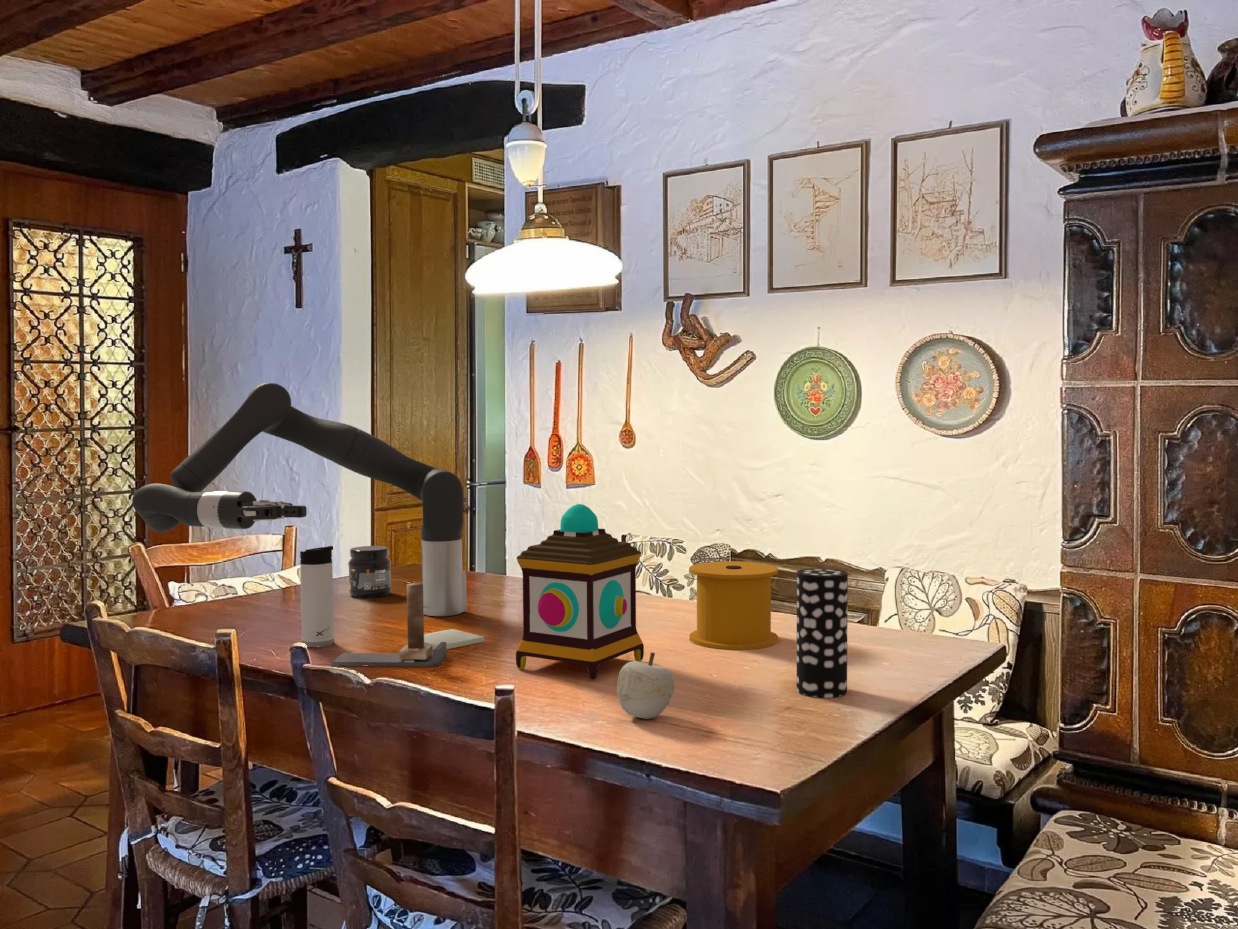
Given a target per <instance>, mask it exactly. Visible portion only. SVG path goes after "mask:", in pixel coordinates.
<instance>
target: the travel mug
mask: <svg viewBox="0 0 1238 929" xmlns="http://www.w3.org/2000/svg"><path fill="white" fill-rule="evenodd" d="M333 550H334V546H333V545H329V546H321V547H315V548H308V549H305V550H304V551H302V550H301V551H299V554H300V555H299V557H300V560H299V561H300V562H299V566H300V567H299V568H300V569H299V572H300V573H299V575H300V576H299V577H300V610H301V611H300V614H301V616H300V618H301V644H302V643H305V644H306V645H307V646H308V647H307V648H310V647H317V646H326V647H329V645H330V646H332V645H334V643H335V626H334V624H335V623H334V620H335V619H334V616H335V615H334V585H333V584H334V582H333V581H334V579H333V571H334V570H333V559H332V558H333V553H332V552H333ZM331 644H332V645H331Z"/></svg>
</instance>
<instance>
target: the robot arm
mask: <svg viewBox="0 0 1238 929" xmlns="http://www.w3.org/2000/svg"><path fill="white" fill-rule="evenodd" d="M261 433H265V434H268V435H270V436H274V437H276V438H280V439H282V440H284V441H288V442H290V443H294V444H295V445H298V446H301V447H303V448H305V449H306V450H309V451H310V452H312V453H314V454H316V455H318V456H320V457H323V458H325V459H327V460H329V461H331V462H332V463H335V464H336V465H338V466H341V467H343V468H345V469H347V470H349V471H352V472H353V473H357V474H358V475H361V476H364V477H366V478H369V479H372V480H376V481H379V482H382V483H385V484H390V485H393V486H395V487H396V488H399V489H401V490H403V491H405V492H406V493H409V494H410V495H411V496H413V497H415V498H417V499H418V500H420V501H422V523H421V532H420V534H421V535H420V536H421V538H420V539H421V583H422V584H423V609H424V615H425V616H429V617H430V616H433V617H448V616H455V615H460V614H463V612H467V572H466V570H465V569H464V570H463V545H462V544H463V542H462V541H463V540H462V539H463V537H462V536H463V532H462V531H463V526H464V487H463V484H462V481H461V480H460V478H459V477H458V476H457V475H456V474H455V473H453V472H451V471H449V470H446V469H441V468H438V467H435V466H432V465H430V464H429V465H428V464H426V463H423V462H421V461H418V460H415V459H413V458H411V457H409V456H407V455H405V454H404V453H402V452H401V451H399V450H398V449H396V448H395V447H393V446H392V445H390V444H388V443H387V442H385V441H384V440H382V439H380V438H379V437H376V436H374V435H373V434H371V433H369V432H368V431H367V432H366V431H364V430H362V429H360V428H358V427H356V426H353V425H350V424H346V423H343V422H339V421H334V420H328V419H324V418H318V417H315V416H312V415H310V414H308V413H305V412H303V411H302V410H299V409H298V408H296V407H294V406H292V398H291V395H290V393H289V391H288V390H287V389H286V388H285V387H284V386H282V385H280V384H278V383H275V382H265V383H261V384H259V385H257V386H255V387H254V388H253V389H251V391H250V392H249V394H248V395H247V397H246V399H245V400H244V401H243V403H242V404H241V405H240V407H238V409H237V410H236V411H235V413H234V414H233V415H232V416H231V417H230V418H229V419H228V420H227V421H226V422H225V423H224V424H223V425H222V426H221V427H220V428H218V430H216V432H215V433H214V434H212V435H211V436H210V437H209V438H207V440H205V441H204V442H203V443H202V444H200V446H198V447H197V448H196V449H195V450H194V451H193V452H191V454H189V455H188V456H187V457H186V458H184V460H182V462H180V463H179V465H177V466H176V467H175V468H174V469H173V470H172V471H171V473H170V480H171V483H172V485H170V484H165V483H164V484H163V483H149V484H146V485H143V486H142V487H140V488H138V489H137V490H136V491H135V492H134V494H133V496H132V500H131V503H132V507H133V509H134V510H135V511H136V513H137V514H138V515H139V516H140V517H141V519H142V520H143V521H144V523H145V524H146V525H147V526H148V527H149V528H150V529H151V530H152V531H154V532H155V533H165V532H166V533H167V532H169V531H171V530H173V529H175V528H176V527H177V526H179V524H180V523H181V524H183V525H184V526H188V527H198V528H199V527H204V528H205V527H206V528H208V527H209V528H213V529H223V530H224V529H225V530H227V529H228V530H231V529H233V530H234V529H235V530H248V529H250V528H252V527H253V526H254V524H255V523H256V522H262V521H275V520H280V519H285V518H286V519H288V518H289V519H290V518H297V519H298V518H305V517H306V516H307V512H308V511H307V507H306V505H293V503H291V502H286V501H285V502H284V501H281V500H279V501H272V500H271V501H270V500H268V499H260V500H257V498H256V497H255V495H254V494H253V493H252V492H251V491H243V490H239V491H237V490H215V491H214V490H213V491H203V490H205V489H206V488H207V487H208V486H209V485H210V484H211V483H212V482H213V481H215V479H216V478H218V476H220V474H221V473H222V472H223V471H224V470H225V469H226V468H227V467H228V466H229V465H230V464H231V462H232V461H233V460H234V459H235V458H236V457H237V456H238V454H239V453H240V452H241V451H242V450H243V449H244V448H245V447H246V446H247V445H248V444H249V443H250V442H251V441H252V440H253V439H254V438H256V437H257V436H258V435H259V434H261Z"/></svg>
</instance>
